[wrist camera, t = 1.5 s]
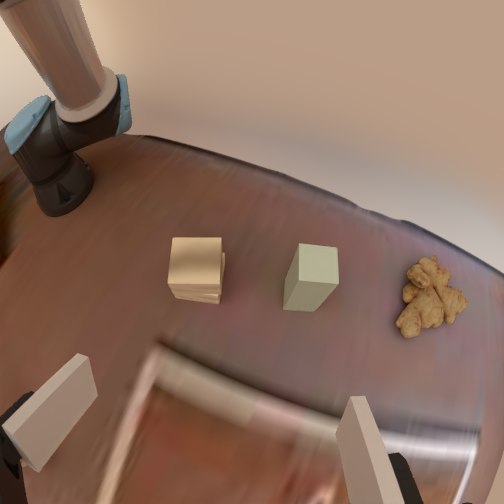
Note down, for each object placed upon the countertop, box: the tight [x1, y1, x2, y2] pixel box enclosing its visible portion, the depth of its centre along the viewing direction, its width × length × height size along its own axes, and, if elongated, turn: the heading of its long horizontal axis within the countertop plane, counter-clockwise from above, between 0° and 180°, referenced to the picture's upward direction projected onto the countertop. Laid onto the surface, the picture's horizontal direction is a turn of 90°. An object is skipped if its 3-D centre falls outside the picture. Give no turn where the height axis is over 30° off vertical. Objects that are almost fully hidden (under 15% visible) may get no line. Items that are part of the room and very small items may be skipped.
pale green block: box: [283, 243, 339, 312], centre depth 39 cm, size 5×5×12 cm
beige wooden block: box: [171, 253, 225, 304], centre depth 43 cm, size 7×7×4 cm
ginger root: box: [395, 255, 468, 338], centre depth 42 cm, size 16×16×8 cm
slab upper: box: [168, 238, 222, 294], centre depth 40 cm, size 7×7×4 cm
